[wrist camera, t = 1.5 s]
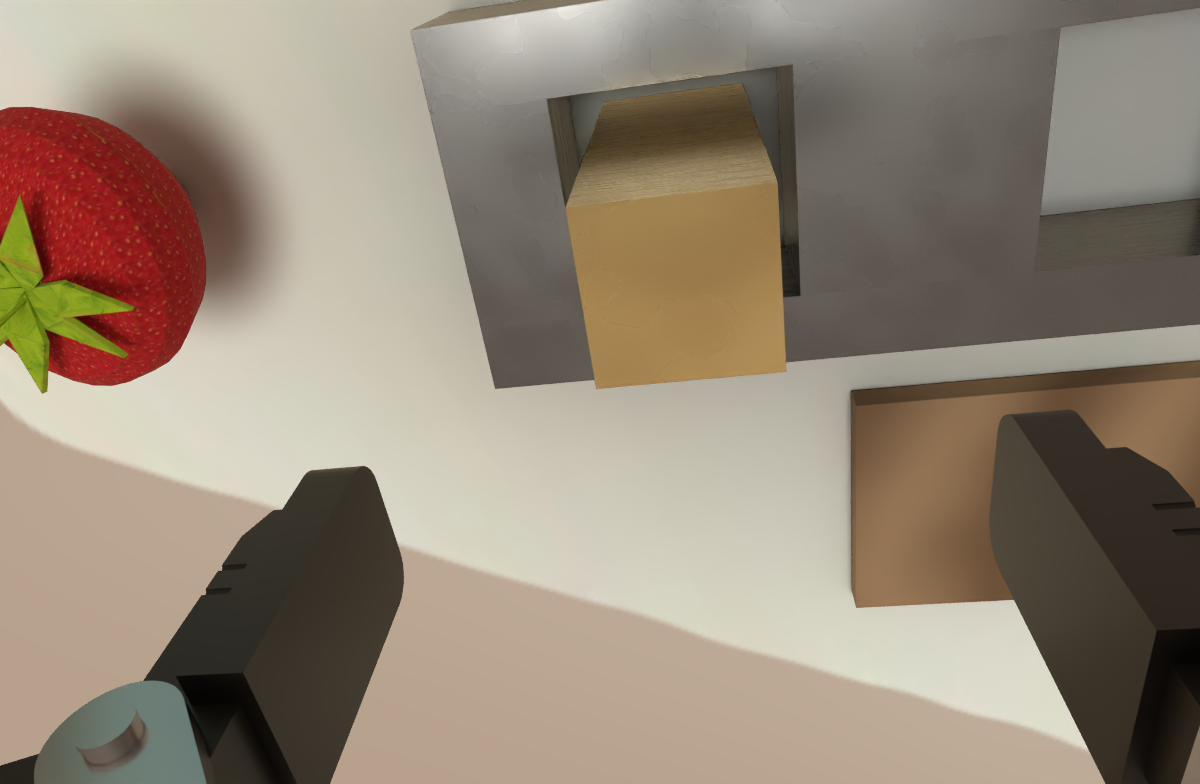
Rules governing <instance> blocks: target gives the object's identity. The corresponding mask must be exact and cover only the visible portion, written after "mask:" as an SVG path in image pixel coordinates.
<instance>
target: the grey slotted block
mask: <svg viewBox="0 0 1200 784" xmlns="http://www.w3.org/2000/svg"><path fill="white" fill-rule="evenodd" d="M1194 8H1200V0H522V1H516V2H510V3H503V4H497V5H490V6H484V7H478V8H471V9H465V10H459V11H452V12H448V13H446V14H444V15H441V16H439V17H437V18H435V19H433V20H431V21H429V22H427V23H425V24H423V25H421V26H419V27H416V28H414V29H412V30H410V32H411V36H412V40H413V44H414V48H415V53H416V57H417V61H418V65H419V69H420V74H421V78H422V82H423V86H424V91H425V95H426V99H427V103H428V107H429V112H430V116H431V120H432V124H433V128H434V133H435V137H436V141H437V145H438V150H439V154H440V158H441V162H442V166H443V171H444V175H445V179H446V183H447V188H448V192H449V196H450V200H451V204H452V209H453V213H454V217H455V221H456V225H457V230H458V234H459V238H460V242H461V247H462V251H463V255H464V259H465V263H466V268H467V272H468V276H469V280H470V284H471V289H472V293H473V297H474V301H475V306H476V310H477V314H478V318H479V322H480V327H481V331H482V335H483V339H484V343H485V348H486V352H487V356H488V360H489V365H490V369H491V373H492V377H493V381H494V386H495V389H499V388H509V387H520V386H531V385H542V384H553V383H564V382H575V381H586V380H595V378H594V373H593V367H592V361H591V355H590V349H589V343H588V338H587V332H586V326H585V320H584V314H583V308H582V302H581V297H580V291H579V285H578V279H577V273H576V267H575V262H574V256H573V250H572V244H571V238H570V232H569V226H568V221H567V215H566V209H565V208H566V205H567V202H568V199H569V197H570V194H571V191H572V188H573V186H574V183H575V180H576V177H577V175H578V172H579V169H580V165H579V158H578V152H577V146H576V139H575V133H574V127H573V121H572V114H571V108H570V102H569V96H570V95H577V94H584V93H592V92H599V91H606V90H613V89H620V88H627V87H635V86H642V85H649V84H656V83H663V82H670V81H678V80H685V79H692V78H699V77H706V76H713V75H721V74H728V73H735V72H742V71H749V70H756V69H764V68H771V67H777V80H778V103H779V126H780V149H781V172H782V196H783V219H784V242H785V245H781V266H782V288H783V310H784V332H785V354H786V362H793V361H804V360H815V359H826V358H837V357H848V356H859V355H870V354H881V353H891V352H902V351H913V350H924V349H935V348H946V347H957V346H968V345H979V344H990V343H1001V342H1012V341H1022V340H1033V339H1044V338H1055V337H1066V336H1077V335H1088V334H1099V333H1110V332H1121V331H1132V330H1143V329H1153V328H1164V327H1175V326H1186V325H1197V324H1200V199H1194V200H1185V201H1176V202H1167V203H1158V204H1149V205H1140V206H1131V207H1121V208H1112V209H1103V210H1094V211H1085V212H1076V213H1067V214H1058V215H1049V216H1040V211H1041V202H1042V193H1043V184H1044V174H1045V165H1046V156H1047V147H1048V137H1049V128H1050V119H1051V110H1052V100H1053V91H1054V82H1055V73H1056V63H1057V54H1058V45H1059V36H1060V27H1065V26H1072V25H1079V24H1086V23H1093V22H1100V21H1108V20H1115V19H1122V18H1129V17H1136V16H1143V15H1151V14H1158V13H1165V12H1172V11H1179V10H1186V9H1194Z"/></svg>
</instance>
